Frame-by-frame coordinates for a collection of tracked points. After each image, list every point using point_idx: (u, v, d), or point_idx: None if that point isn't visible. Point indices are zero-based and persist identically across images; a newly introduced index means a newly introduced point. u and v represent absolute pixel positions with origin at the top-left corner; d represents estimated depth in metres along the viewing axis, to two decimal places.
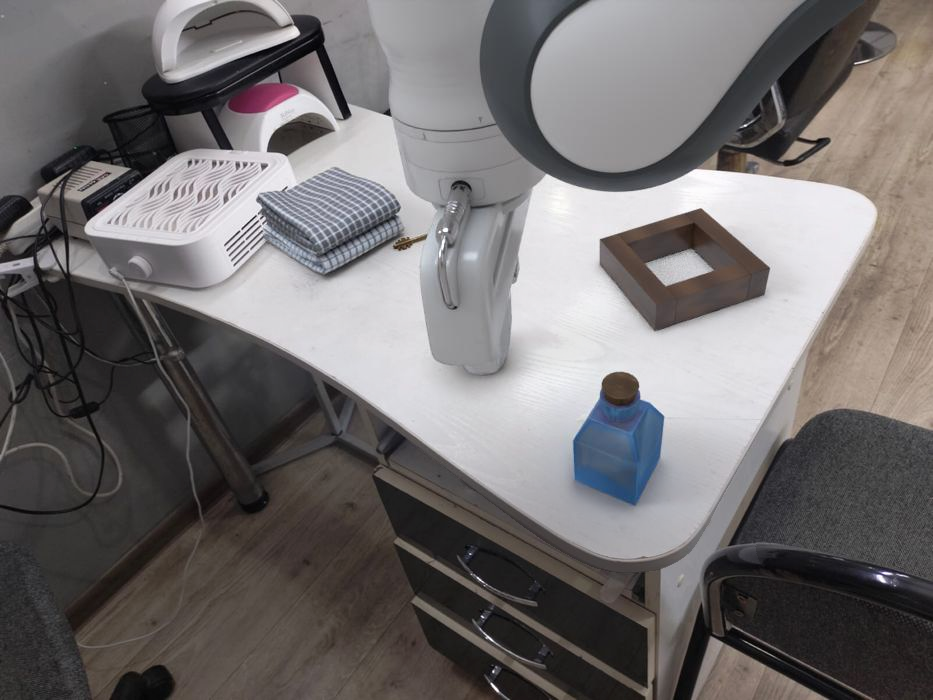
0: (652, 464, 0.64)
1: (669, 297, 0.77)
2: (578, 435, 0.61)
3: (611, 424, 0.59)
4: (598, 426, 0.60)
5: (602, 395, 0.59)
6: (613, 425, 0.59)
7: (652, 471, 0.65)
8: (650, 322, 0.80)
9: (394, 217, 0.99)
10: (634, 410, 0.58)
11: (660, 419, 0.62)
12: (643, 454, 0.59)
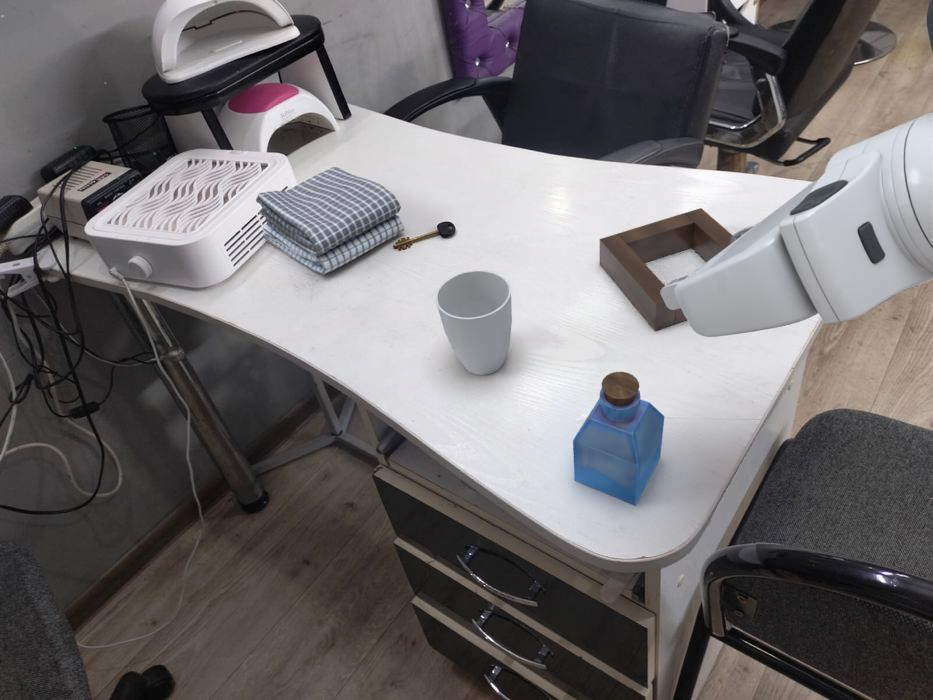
0: (652, 464, 0.64)
1: None
2: (578, 435, 0.61)
3: (611, 424, 0.59)
4: (598, 426, 0.60)
5: (602, 395, 0.59)
6: (613, 425, 0.59)
7: (652, 471, 0.65)
8: (650, 322, 0.80)
9: (394, 217, 0.99)
10: (634, 410, 0.58)
11: (660, 419, 0.62)
12: (643, 454, 0.59)
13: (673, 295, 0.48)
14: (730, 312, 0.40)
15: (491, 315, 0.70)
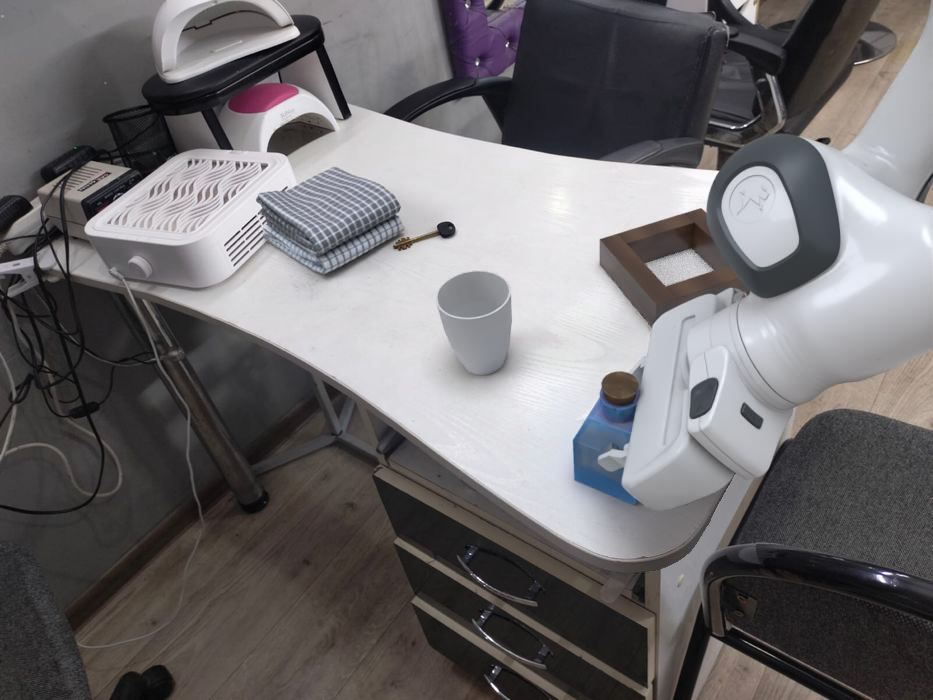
0: None
1: (669, 297, 0.77)
2: (578, 435, 0.61)
3: (610, 424, 0.59)
4: (597, 426, 0.60)
5: (602, 395, 0.59)
6: (613, 425, 0.59)
7: None
8: (650, 322, 0.80)
9: (394, 217, 0.99)
10: (634, 410, 0.58)
11: None
12: None
13: (609, 462, 0.58)
14: (676, 493, 0.50)
15: (491, 315, 0.70)
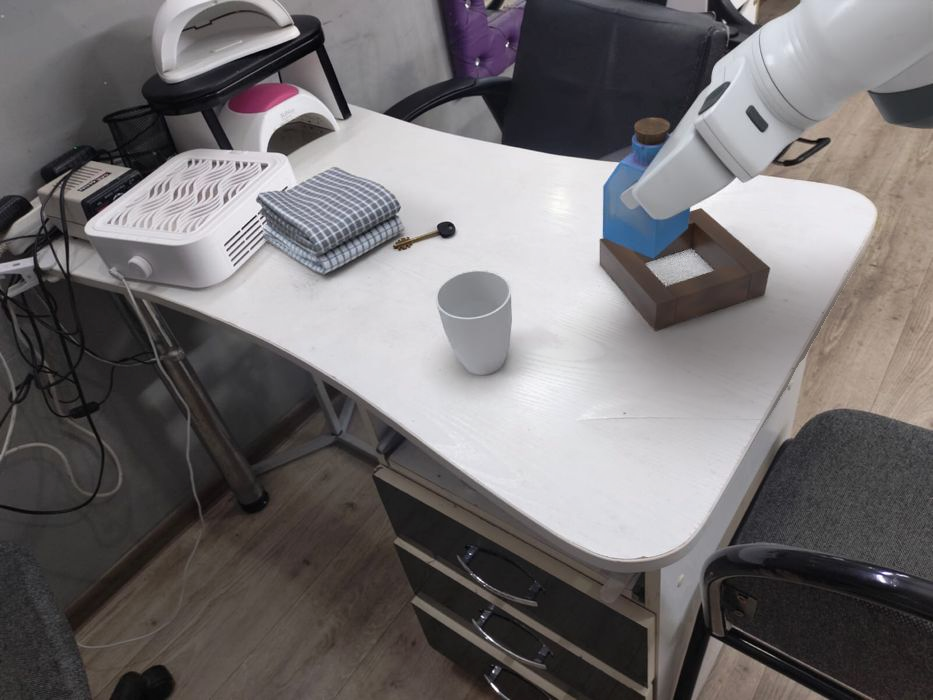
0: (677, 226, 0.69)
1: (669, 297, 0.77)
2: (608, 180, 0.67)
3: (638, 166, 0.64)
4: (626, 169, 0.65)
5: (634, 137, 0.64)
6: (640, 167, 0.64)
7: (676, 236, 0.70)
8: (650, 322, 0.80)
9: (394, 217, 0.99)
10: None
11: None
12: None
13: (631, 197, 0.63)
14: (677, 194, 0.55)
15: (491, 315, 0.70)
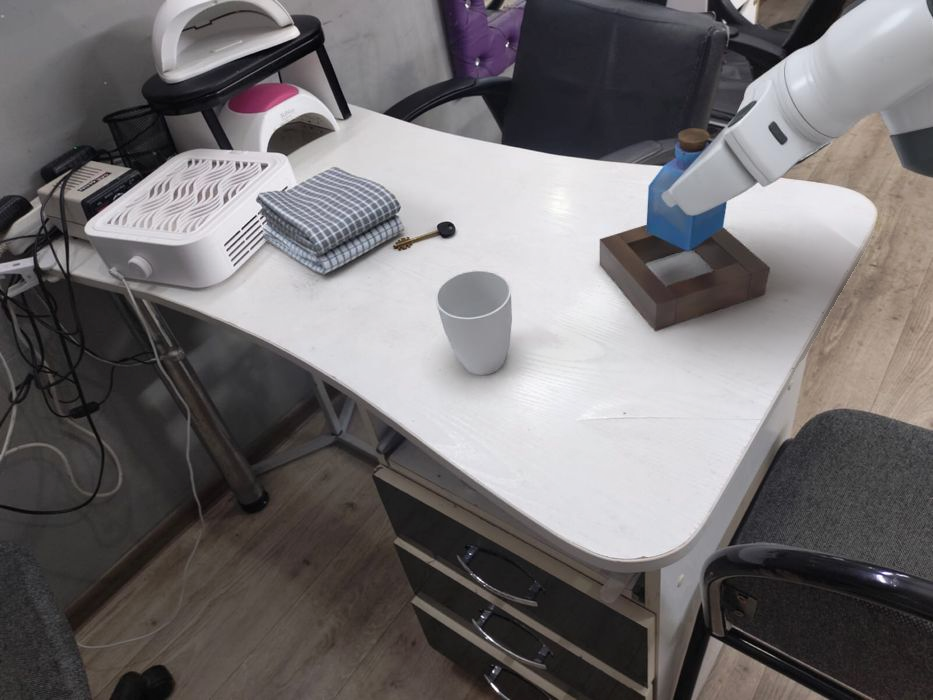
0: (712, 225, 0.78)
1: (669, 297, 0.77)
2: (653, 181, 0.77)
3: (679, 170, 0.74)
4: (669, 171, 0.75)
5: (678, 145, 0.74)
6: (681, 170, 0.74)
7: (712, 234, 0.79)
8: (650, 322, 0.80)
9: (394, 217, 0.99)
10: None
11: None
12: None
13: (670, 196, 0.73)
14: (706, 194, 0.64)
15: (491, 315, 0.70)
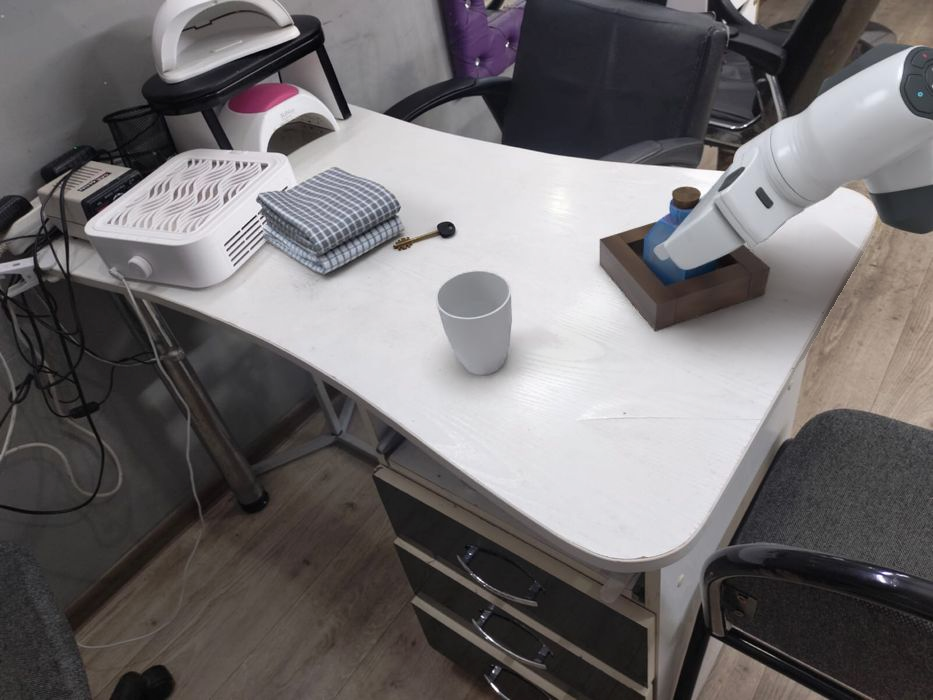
0: None
1: (669, 297, 0.77)
2: (649, 233, 0.82)
3: (673, 225, 0.79)
4: (664, 226, 0.80)
5: (672, 202, 0.79)
6: (675, 225, 0.79)
7: None
8: (650, 322, 0.80)
9: (394, 217, 0.99)
10: None
11: None
12: None
13: (662, 251, 0.77)
14: (698, 252, 0.69)
15: (491, 315, 0.70)
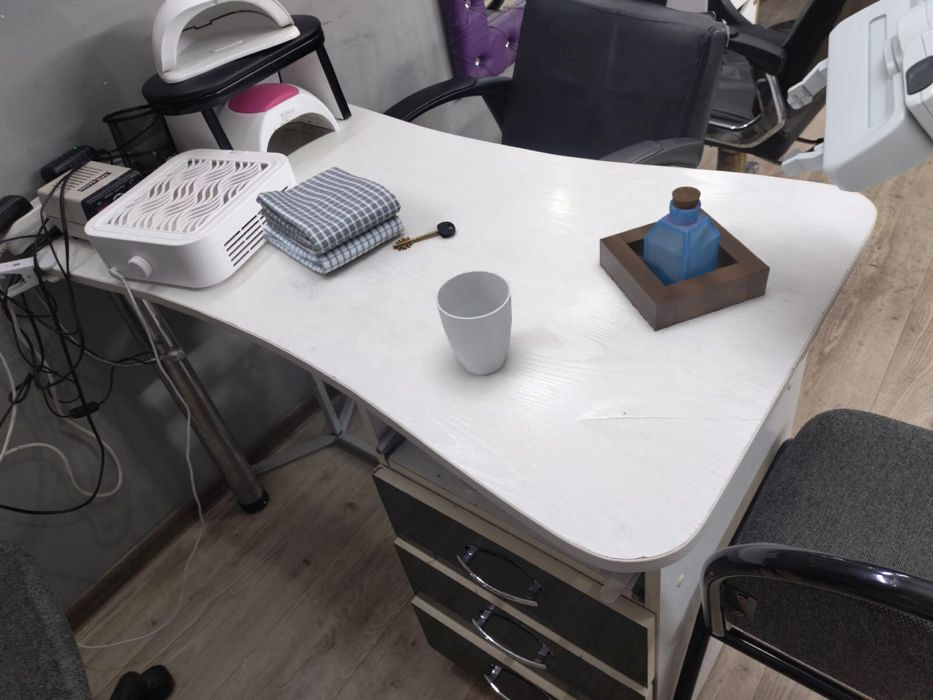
0: None
1: (669, 297, 0.77)
2: (649, 233, 0.82)
3: (673, 225, 0.79)
4: (664, 226, 0.80)
5: (672, 201, 0.79)
6: (675, 225, 0.79)
7: None
8: (650, 322, 0.80)
9: (394, 217, 0.99)
10: (692, 215, 0.77)
11: (716, 235, 0.80)
12: (693, 252, 0.79)
13: (794, 167, 0.64)
14: (878, 171, 0.56)
15: (491, 315, 0.70)
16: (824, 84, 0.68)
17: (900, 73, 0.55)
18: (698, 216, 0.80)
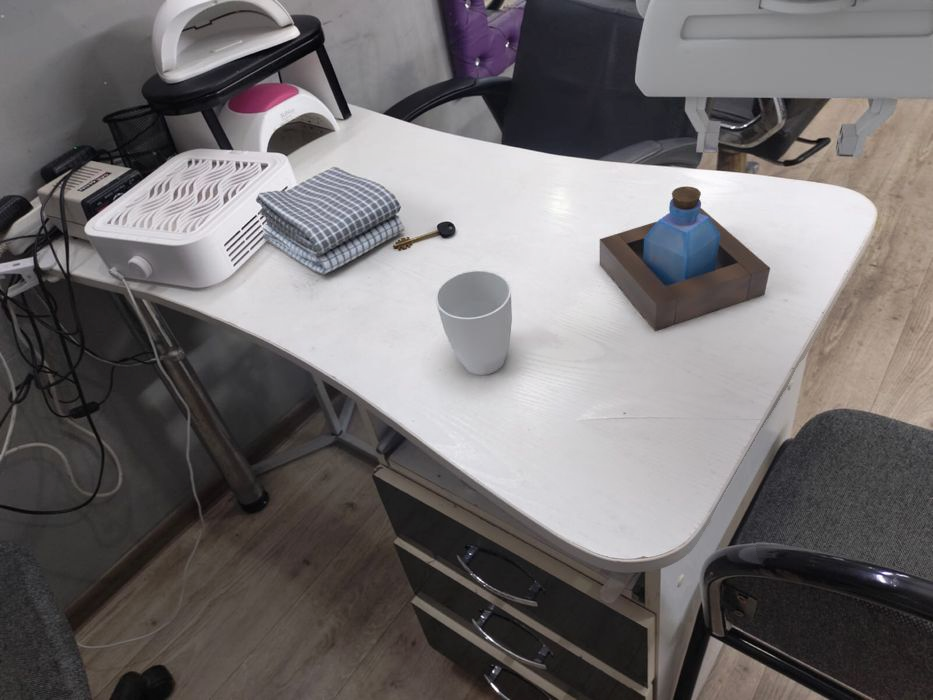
0: None
1: (669, 297, 0.77)
2: (649, 233, 0.82)
3: (673, 225, 0.79)
4: (664, 226, 0.80)
5: (672, 201, 0.79)
6: (675, 225, 0.79)
7: None
8: (650, 322, 0.80)
9: (394, 217, 0.99)
10: (692, 215, 0.77)
11: (716, 235, 0.80)
12: (693, 252, 0.79)
13: None
14: None
15: (491, 315, 0.70)
16: None
17: None
18: (698, 216, 0.80)
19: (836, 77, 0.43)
